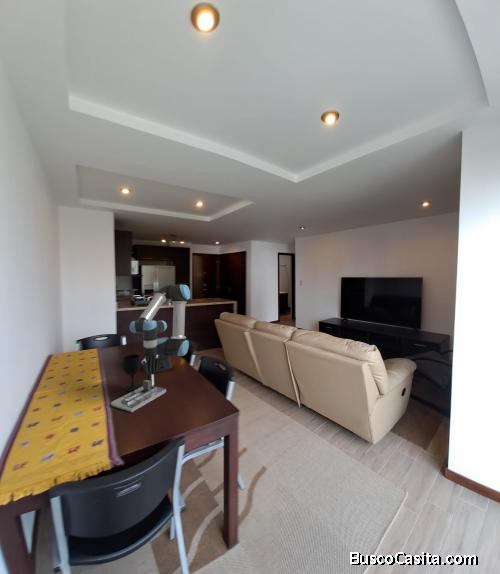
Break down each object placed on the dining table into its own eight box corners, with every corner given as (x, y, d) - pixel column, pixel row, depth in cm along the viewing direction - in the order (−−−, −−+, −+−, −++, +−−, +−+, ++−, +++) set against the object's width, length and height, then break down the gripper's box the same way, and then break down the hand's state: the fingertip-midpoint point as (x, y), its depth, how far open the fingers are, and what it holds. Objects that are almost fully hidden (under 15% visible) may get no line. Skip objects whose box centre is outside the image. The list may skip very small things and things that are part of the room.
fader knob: (146, 389, 145) (146, 379, 145) (151, 390, 143) (150, 380, 143) (143, 391, 143) (142, 381, 142) (147, 392, 141) (147, 382, 141)
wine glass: (121, 392, 146) (120, 360, 145) (125, 385, 156) (124, 355, 155) (140, 390, 149) (139, 358, 148) (143, 383, 159) (142, 353, 158)
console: (147, 387, 153) (146, 382, 153) (166, 392, 146) (165, 387, 146) (111, 405, 131) (111, 400, 131) (131, 412, 124) (131, 406, 124)
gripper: (154, 343, 152) (155, 379, 153) (136, 348, 141) (137, 388, 141) (163, 344, 149) (164, 381, 150) (146, 350, 137) (147, 390, 138)
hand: (151, 384), depth 146 cm, fingers closed
